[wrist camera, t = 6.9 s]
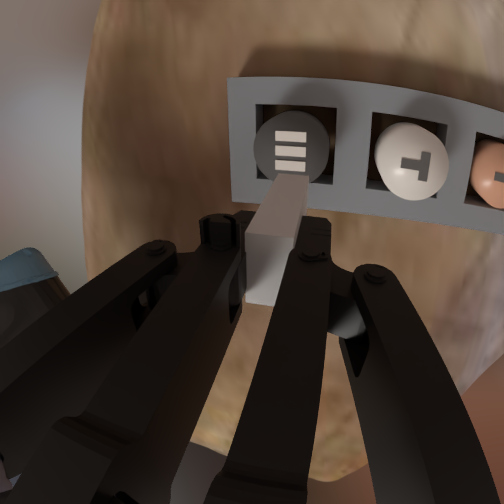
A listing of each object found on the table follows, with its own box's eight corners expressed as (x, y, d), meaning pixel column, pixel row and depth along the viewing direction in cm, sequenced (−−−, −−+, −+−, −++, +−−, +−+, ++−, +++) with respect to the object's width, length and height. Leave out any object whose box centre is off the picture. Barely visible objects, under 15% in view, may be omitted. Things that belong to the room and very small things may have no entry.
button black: (262, 172, 29) (253, 184, 26) (262, 109, 26) (252, 113, 23) (327, 177, 28) (326, 190, 25) (331, 112, 25) (330, 116, 22)
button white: (371, 182, 27) (375, 195, 24) (376, 117, 24) (382, 122, 21) (431, 190, 26) (442, 205, 23) (440, 128, 22) (453, 135, 20)
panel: (240, 191, 33) (231, 201, 31) (236, 77, 27) (227, 77, 25) (515, 226, 26) (526, 239, 24) (536, 125, 20) (551, 130, 18)
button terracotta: (460, 190, 26) (472, 203, 23) (470, 133, 23) (484, 140, 20) (505, 199, 25) (519, 213, 22) (515, 146, 22) (532, 154, 19)
